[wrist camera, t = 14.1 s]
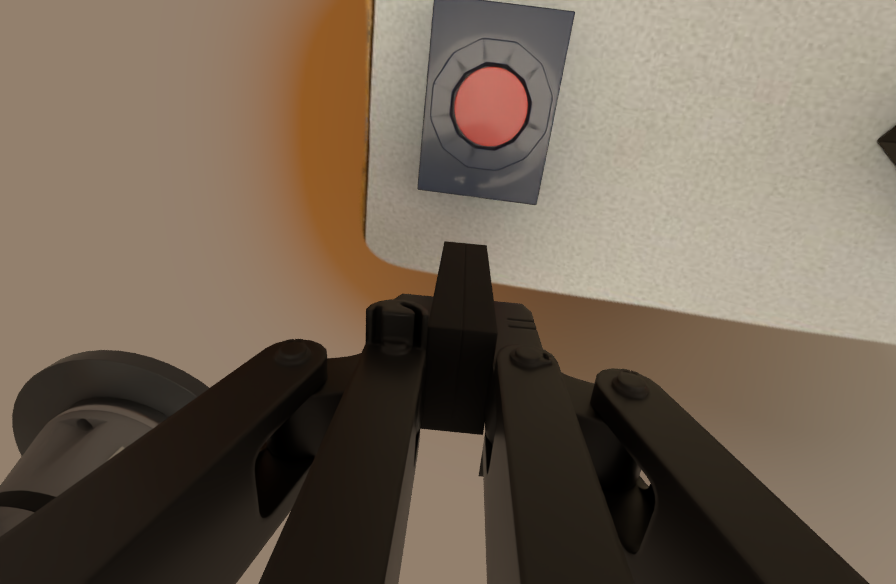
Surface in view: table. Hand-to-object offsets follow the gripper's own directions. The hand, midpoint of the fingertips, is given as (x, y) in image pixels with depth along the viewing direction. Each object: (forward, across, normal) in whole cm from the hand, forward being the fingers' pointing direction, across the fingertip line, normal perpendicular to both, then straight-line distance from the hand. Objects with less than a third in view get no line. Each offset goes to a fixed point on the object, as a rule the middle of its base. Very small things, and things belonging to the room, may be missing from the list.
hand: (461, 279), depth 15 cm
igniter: (+16, +1, +6) cm, 17 cm away
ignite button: (+13, +1, +6) cm, 14 cm away
